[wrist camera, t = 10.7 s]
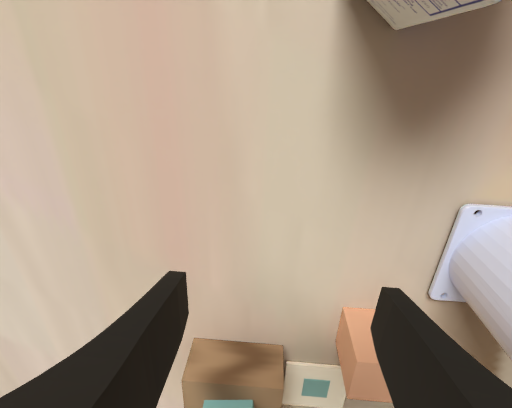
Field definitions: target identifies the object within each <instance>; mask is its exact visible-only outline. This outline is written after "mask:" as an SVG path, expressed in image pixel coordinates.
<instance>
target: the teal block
mask: <svg viewBox="0 0 512 408" xmlns="http://www.w3.org/2000/svg"><path fill="white" fill-rule="evenodd" d="M203 408H254V403H253V400H204V404H203Z"/></svg>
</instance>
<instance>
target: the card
mask: <svg viewBox="0 0 512 408" xmlns="http://www.w3.org/2000/svg"><path fill="white" fill-rule="evenodd" d="M345 397H346V391H345V386H344V381H343V376H342V371H341V366H339V365H327V364H316V363H304V362H292V361H286V369H285V377H284V392H283V399H282V404H285V405H296V406H307V407H318V408H343V404H344V401H345Z"/></svg>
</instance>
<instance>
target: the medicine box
mask: <svg viewBox="0 0 512 408" xmlns="http://www.w3.org/2000/svg"><path fill="white" fill-rule="evenodd" d="M367 1H368V2H369V3H370V5H371V6H372V7H373V8H374V9H375V10H376V11H377V12H378V13H379V14H380V15H381V16H382V17H383V18H384V19H385V20H386V21H387V22H388V23H389V24H390V26H391V27H392V28H393V29H395V30H400V29H403V28H407V27H410V26H414V25H418V24H422V23H426V22H430V21H433V20H437V19H441V18H445V17H448V16H452V15H456V14H460V13H464V12H468V11H472V10H475V9H479V8H483V7H486V6H489V5H493V4H496V3H498V2H500V1H501V0H367Z"/></svg>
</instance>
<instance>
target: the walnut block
mask: <svg viewBox="0 0 512 408" xmlns="http://www.w3.org/2000/svg"><path fill="white" fill-rule="evenodd" d="M182 390H183V400H184V408H203V404H204V400H253V403H254V408H281V407H282V399H283V392H284V375H283V345H271V344H259V343H247V342H235V341H223V340H211V339H199V338H194V340H193V343H192V347H191V350H190V354H189V357H188V360H187V364H186V367H185V371H184V374H183V377H182Z"/></svg>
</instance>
